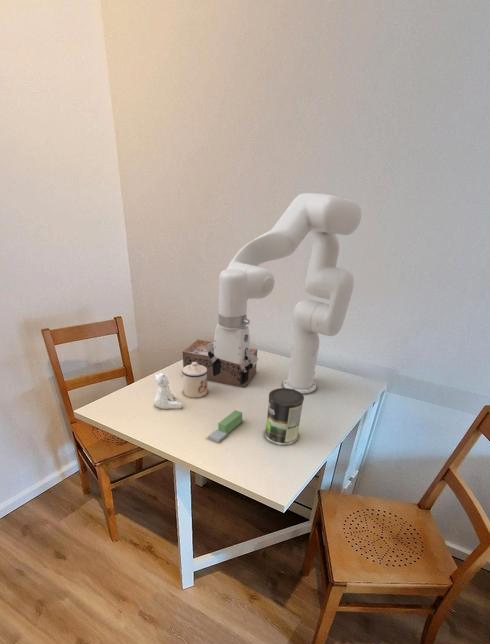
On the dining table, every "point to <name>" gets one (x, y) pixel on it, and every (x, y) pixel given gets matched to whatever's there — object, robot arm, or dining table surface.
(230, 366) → the tissue box cover
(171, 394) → the sitting furry creature
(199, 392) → the teacup with lid
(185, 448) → the dining table surface
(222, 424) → the green bar grey end
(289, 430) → the coffee can
